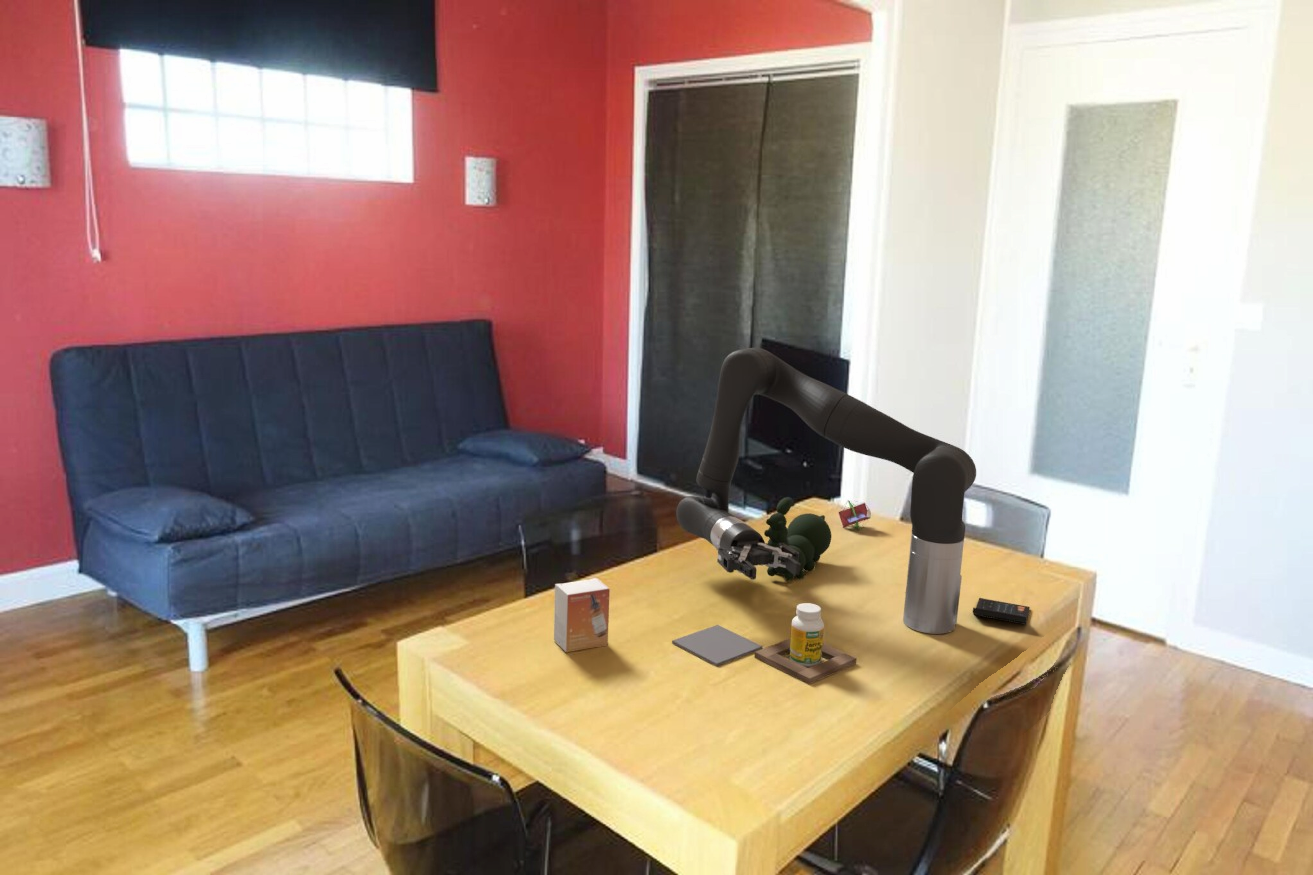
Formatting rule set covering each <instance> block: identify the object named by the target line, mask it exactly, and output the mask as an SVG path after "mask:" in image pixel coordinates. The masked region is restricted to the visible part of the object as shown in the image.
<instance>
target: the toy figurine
mask: <svg viewBox="0 0 1313 875" xmlns="http://www.w3.org/2000/svg"><path fill="white" fill-rule="evenodd" d="M794 505H795V501H794V499H792V497H788V496H787V497H783V498H782V499H781V500H779V502H778V503H777V506H776V512H775V513H773V514H771V515H770V516H769V518H767V519H766V520H765V523H766V525H768V526H769V527H768V529H766V530H764V533H763V535H764V536H765V537H766V538H768V541H767V542H765V543H766V544H767V545H770V546H772V547H775V548H776V547H779V543H784V544H786V545H788V546H789V547H791V548H792V549H794V550H796V551H797V552H799V558H798V563H800V564H801V566H800V572H799V575H793V574H792V573H791V572H789V571H788V570H787V569H786V568H784V567H780V566H778V567H777V568H774V567H770V566H766V567H767V569H766V572H767V575H768V576H770V577H774V576H776V575H777V574H778V575H783V577H784V579H785V580H786V581H792V580H794V578H796V579H798V580H802V579H804V578H805V575H806V573H805V571H806V572H812V571H814V570H815V567H816V563H817V562H819V561H820V560H821V559H820V558H821V556H822V555H823V554H824V553H825V552H826V551H827V550H828V549H829V548H830V545H831V540H832V531H831V528H830V526H829V524H828V522H827V520H826V516H825V515H817V514H815V513H802V514H800V515H797V516H796V517H795V518H793V519H792V520H791V521H790V523H789V524H788V526H787V518H786V516H785V515H787V514H788V512H789V511H790V509H791V508H792V507H794ZM774 556H775V554H773V557H772V559H771V561H770V562H774ZM780 561H781V562H784V563H785V561H784V560H783V559H780Z"/></svg>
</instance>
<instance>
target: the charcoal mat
mask: <svg viewBox="0 0 1313 875" xmlns="http://www.w3.org/2000/svg"><path fill="white" fill-rule="evenodd" d="M671 643H672V645H675V646H677V647H678V648H680V649H683V650H684V651H686V652H688V653H690V654H692V655H694V656H696V657H697V658H700V659H702V660H704V661H706V662H708V663H709V664H711V665H713V666H715V667H719V666H721V665H724V664H726V663H729V662H731V661H732V662H733V661H734V660H736V659H737V660H738V659H740V658H742V657H745V656H747V655H749V654H753V653H755V652H756V651H759V650H761V649H763V646H762V645H761V644H759V643H757V642H754V641H753V640H750V639H748V638H746V637H744V636H742V635H740V634H738V633H736V632H734V631H731V630H729V629H728V628H725V627H723V626H721V625H719V624H716V625H713V626H710V627H707V628H705V629H700V630H699V631H696V632H693V633H690V634H687V635H684V636H681V637H678V638H675V639H672V640H671Z"/></svg>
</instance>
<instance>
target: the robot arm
mask: <svg viewBox="0 0 1313 875" xmlns="http://www.w3.org/2000/svg"><path fill="white" fill-rule="evenodd" d="M755 395H760V396H763V397H766V398H768V399H771V400H773V401H774V402H778V403H780V404H781V405H783V406H785V407H787V408H789V409H790V410H792V411H793V412H794V413H795V414H796V415H797V416H798V417H799V418H801V420H802V421H803V423H805V424H806V425H807V426H808V427H809V428H810V429H812V430H813V431H814V432H815V433H816V434H818V435H819V436H821V437H823V438H824V439H827V440H828V441H829V442H831V443H834V444H836V445H838V446H839V447H841V448H844V449H846V450H848V451H851V452H854V453H857V454H861V455H864V456H868V457H873V458H877V459H881V460H885V461H888V462H891V463H894V464H896V465H898V466H900V467H902V468H904V469H905V470H908V471H910V472H911V473H913V475H912V480H911V481H912V483H911V492H910V494H911V495H910V511H909V514H910V515H909V516H910V521H911V534H910V535H911V536H910V547H909V556H908V566H907V568H908V569H907V575H906V576H907V577H906V585H905V586H906V587H905V598H904V606H903V607H904V608H903V616H902V622H903V624H904V625H906V626H907V627H908V628H910V629H912V630H915V631H917V632H921V633H926V634H931V635H932V634H933V635H941V634H942V635H943V634H948V633H950V632H952V631H954V629H955V627H956V626H955V624H958V623H957V622H958V614H959V613H958V612H959V605H960V604H959V602H960V595H961V585H962V575H961V571H962V562H963V552H964V544H965V535H966V523H965V522H964V520H963V514H964V511H963V510H964V502H965V501H964V500H965V492H966V491H968V490H969V489H970V488H971V487H972V486H973V484H974V482H975V481H976V477H977V467H976V463H975V462H974V460H973V458H972V457H971V456H970V455H969V454H968V452H966V451H965V450H964V449H962V448H960V447H958V446H955V445H954V444H951V443H948V442H945V441H942V440H940V439H937V438H935V437H932V436H931V435H927V434H924V433H922V432H919V431H918V430H916V429H913V428H911V427H909V426H908V425H906V424H904V423H902V422H900V421H898V420H897V419H895V418H893V417H891V416H890V415H888V414H886V413H884V412H882V411H880V410H878V409H876V408H874V407H873V406H871V405H869V404H867V403H866V402H863V401H862V400H860V399H859V398H856V397H854V396H852V395H850V394H848V393H846V392H844V391H842V390H839V389H837V388H835V387H833V386H831V385H829V384H827V383H824V382H822V381H820V380H817V379H816V378H812V377H810V376H808V375H806V374H805V373H803V372H801V371H799V370H797V369H796V368H794V367H793V366H791V365H790V364H788V363H787V362H785V361H784V360H783V359H781V358H779V357H778V356H776V355H774V354H773V353H772V352H770V351H768V350H766V349H764V348H761V347H748V348H743V349H742V348H741V349H737V350H735V351H732V352H731V353H729V354H728V355H727V356H726V357H725V359H724V361H723V362H722V364H721V367H720V373H719V379H718V386H717V393H716V399H715V406H714V410H713V411H714V412H713V418H712V421H711V427H710V431H709V435H708V439H707V441H706V445H705V449H704V453H703V455H702V459H701V462H700V465H699V468H698V471H697V474H696V484H697V485H698V486H699V487H700V488H701V489H703V490H705V491H706V492H707V491H708V492H710V493H712V494H711V497H705V496H697V495H688V496H685V497H684V498H682V499H681V500H680V501H679V503H678V504H677V506H676V510H675V515H676V519H677V522H678V524H679V526H680V527H681V528H682V529H683V530H684V531H686V532H688V533H690V534H691V535H694V536H695V537H699V538H701V539H704V540H706V541H708V542H709V544H711V545H712V546H714V548H715V549H716V551H717V557H716V558H717V560H716V562H717V563H718V564H719V566H721V567H722V568H723V569H724V570H725V571H726V572H727V573H730V574H731V573H734V571H737V573H739V574H743V575H744V576H745V577H747V578H749V579H750V580H751V581H752V580H756V579H757V571H758V570H757V567H756V566H763V567H764V566H765V567H767V566H770V567H774V568H777V567H778V566H780V567H784V568H786V569H787V570H788V571H789V572H791V573H792V574H793V575H794V576H795V575H799V572H800V566H801V564H800V563H798V558H799V552H797V551H796V550H794V549H792V548H791V547H789V546H788V545H786V544H784V543H779V547H776V548H775V547H772V546H770V545H767V544H766V543H767V542H765V540H764V537H763V536H762V534H761V533H759V532H758V531H757V530H756V529H754V528H753V527H751V526H750V525H749V524H747V523H746V522H744V521H743V520H741V519H739V518H737V517H736V516H734V515H733V514H732V513H730V512H729V511H730V510H729V504H730V503H729V502H730V490H731V485H732V484H731V483H732V481H733V478H734V475H735V471H736V468H737V465H738V463H739V459H740V458H739V457H740V453H741V432H742V425H743V420H744V416H745V413H746V411H747V409H748V406H749V404H750V403H751V400H752V399H753V396H755ZM773 554H775V556H774V562H770V561H771V559H772V557H773ZM780 559H783V560H784V561H785V563H784V562H781V561H780Z"/></svg>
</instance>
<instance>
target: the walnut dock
mask: <svg viewBox="0 0 1313 875" xmlns="http://www.w3.org/2000/svg"><path fill="white" fill-rule="evenodd" d="M790 643H791V637H790V638H787V639H784V640H783V641H782V640H781V641H780V642H778V643H775V644H772V645H769V646H767V647H764V648H762V649H760V650H758V651H755V652H754V659H757V660H759V661H761V662H763V663H765V664H768V665H769V666H772V667H773V668H775V669H777V670H779V671H781V672H783V673H785V674H788V675H789V676H791V677H794V678H795V679H798V680H800V681H802V682H803V683H806V684H808V685H811V684H813V683H815V682H817V681H820V680H822V679H824V678H827V677H829V676H831V675H834V674H836V673H838V672H840V671H843V670H846V669H847V668H850V667H852V666H854V665H856V664H857V657H855V656H852V655H850V654H848V653H846V652H844V651H841V650H839V649H837V648H834V647H833V646H830V645H828V644H825V643H823V645H822V657H823V658H824V659H827V660H824V661H821V662H820V664H817V665H815V666H812V667H804V666H802V665H800V664H798V663H795V662H793V661H791V660H790V658H787V657H785V656H786V655H790ZM822 657H821V658H822Z"/></svg>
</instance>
